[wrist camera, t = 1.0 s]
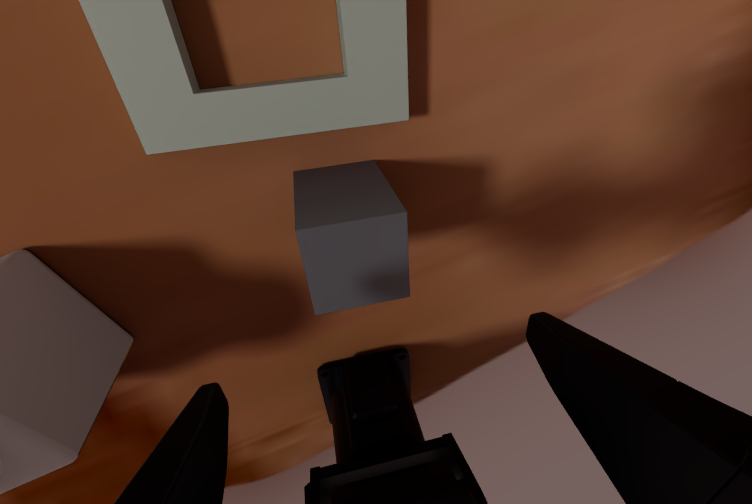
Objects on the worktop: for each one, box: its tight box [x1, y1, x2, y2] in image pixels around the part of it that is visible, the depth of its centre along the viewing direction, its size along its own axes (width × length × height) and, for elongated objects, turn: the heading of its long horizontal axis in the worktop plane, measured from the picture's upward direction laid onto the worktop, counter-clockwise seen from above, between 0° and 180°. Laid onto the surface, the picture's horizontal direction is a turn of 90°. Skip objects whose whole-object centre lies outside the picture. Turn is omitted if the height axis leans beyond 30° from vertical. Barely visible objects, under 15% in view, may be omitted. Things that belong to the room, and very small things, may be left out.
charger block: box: [293, 160, 410, 315], centre depth 16 cm, size 4×4×6 cm
